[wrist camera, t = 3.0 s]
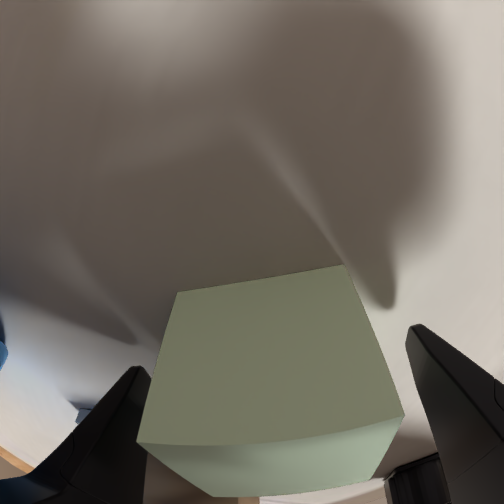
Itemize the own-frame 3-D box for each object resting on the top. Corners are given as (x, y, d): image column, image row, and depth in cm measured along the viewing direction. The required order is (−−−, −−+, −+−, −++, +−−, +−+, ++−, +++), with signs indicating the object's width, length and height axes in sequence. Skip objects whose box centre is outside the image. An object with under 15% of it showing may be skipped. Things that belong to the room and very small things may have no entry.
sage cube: (343, 263, 8) (405, 414, 4) (343, 366, 11) (369, 479, 7) (177, 290, 9) (136, 441, 5) (221, 383, 11) (213, 496, 7)
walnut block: (239, 453, 13) (237, 535, 9) (259, 479, 16) (259, 539, 12) (141, 450, 14) (128, 521, 9) (179, 478, 17) (173, 534, 12)
